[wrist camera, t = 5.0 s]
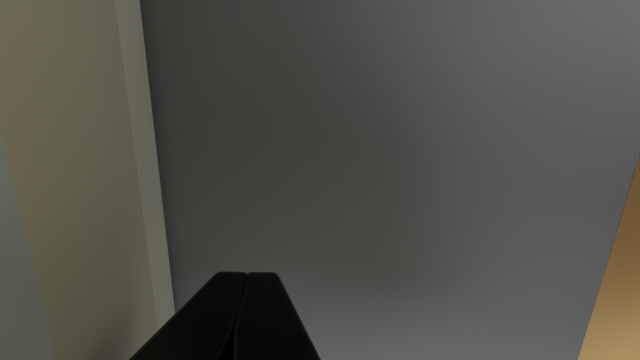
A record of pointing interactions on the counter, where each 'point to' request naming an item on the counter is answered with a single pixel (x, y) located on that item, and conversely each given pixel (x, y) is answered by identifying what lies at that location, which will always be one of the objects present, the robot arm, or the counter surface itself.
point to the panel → (78, 184)
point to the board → (400, 163)
